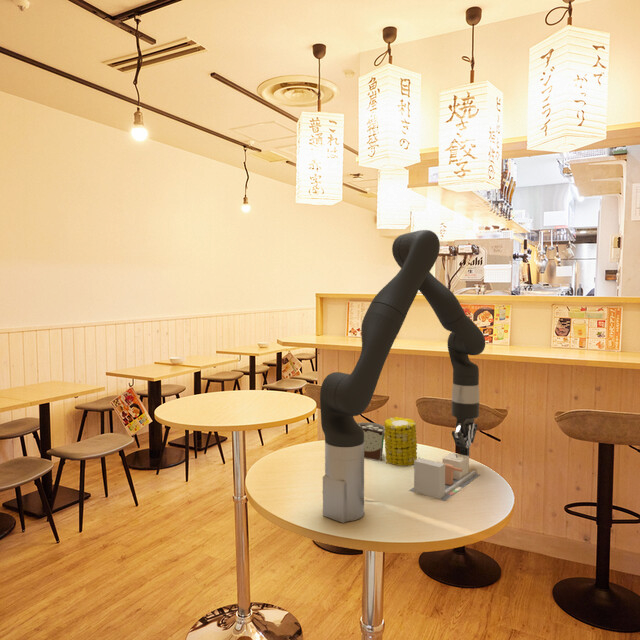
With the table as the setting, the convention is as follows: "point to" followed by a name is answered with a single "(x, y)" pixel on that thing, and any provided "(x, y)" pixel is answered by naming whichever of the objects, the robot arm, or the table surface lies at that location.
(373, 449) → the chocolate cake half
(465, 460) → the gauge housing
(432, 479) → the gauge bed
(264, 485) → the table surface
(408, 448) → the food
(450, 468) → the brown slider plate
